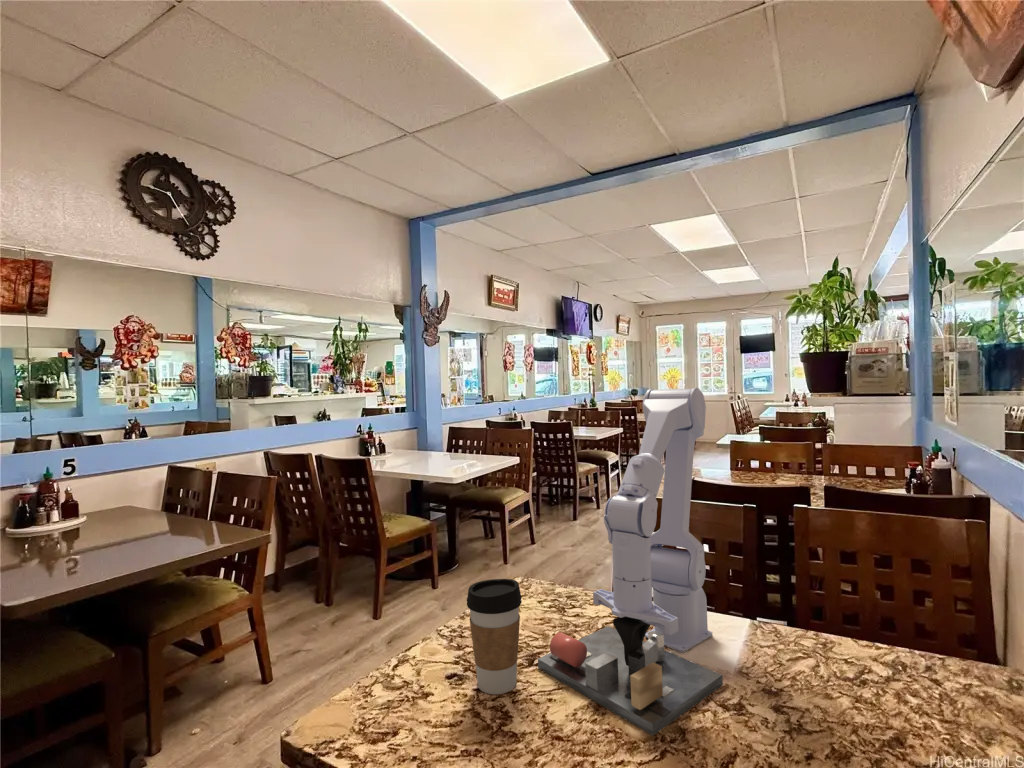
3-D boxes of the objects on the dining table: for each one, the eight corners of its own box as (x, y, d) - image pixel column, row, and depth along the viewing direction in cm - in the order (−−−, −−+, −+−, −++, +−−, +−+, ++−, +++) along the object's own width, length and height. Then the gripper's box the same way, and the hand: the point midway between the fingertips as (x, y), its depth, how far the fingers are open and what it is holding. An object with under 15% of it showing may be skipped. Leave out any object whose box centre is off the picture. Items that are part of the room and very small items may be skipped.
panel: (608, 634, 95) (607, 608, 95) (724, 685, 77) (722, 653, 77) (538, 668, 84) (537, 638, 84) (654, 736, 67) (652, 699, 67)
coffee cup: (519, 702, 75) (515, 597, 75) (462, 697, 77) (459, 594, 77) (529, 670, 83) (525, 576, 83) (477, 667, 85) (474, 574, 85)
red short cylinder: (566, 651, 85) (565, 629, 85) (587, 662, 81) (586, 639, 81) (550, 659, 83) (549, 636, 83) (571, 670, 79) (570, 646, 79)
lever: (652, 651, 84) (652, 629, 84) (667, 655, 82) (666, 633, 82) (627, 676, 77) (626, 652, 77) (642, 681, 76) (641, 657, 76)
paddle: (654, 691, 73) (653, 662, 73) (662, 695, 72) (661, 666, 72) (631, 705, 70) (630, 675, 70) (640, 710, 69) (638, 679, 69)
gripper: (578, 569, 83) (581, 655, 82) (656, 596, 71) (658, 696, 71) (608, 558, 87) (611, 641, 87) (685, 582, 76) (688, 677, 75)
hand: (634, 664), depth 79 cm, fingers closed, pressing on lever
